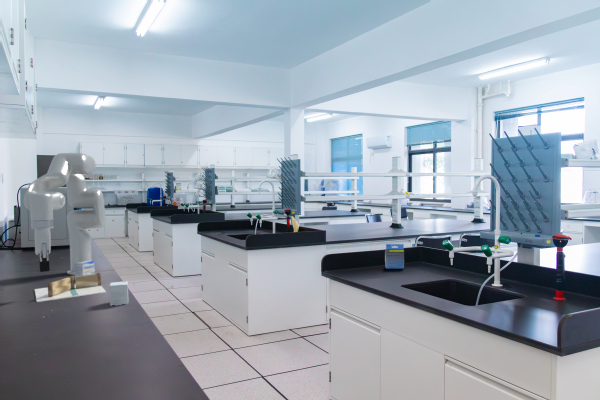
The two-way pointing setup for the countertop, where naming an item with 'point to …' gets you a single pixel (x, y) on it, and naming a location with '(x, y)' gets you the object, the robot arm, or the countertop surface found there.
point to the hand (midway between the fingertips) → (44, 271)
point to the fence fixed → (86, 281)
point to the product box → (118, 293)
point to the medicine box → (84, 268)
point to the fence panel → (59, 286)
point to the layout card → (68, 293)
